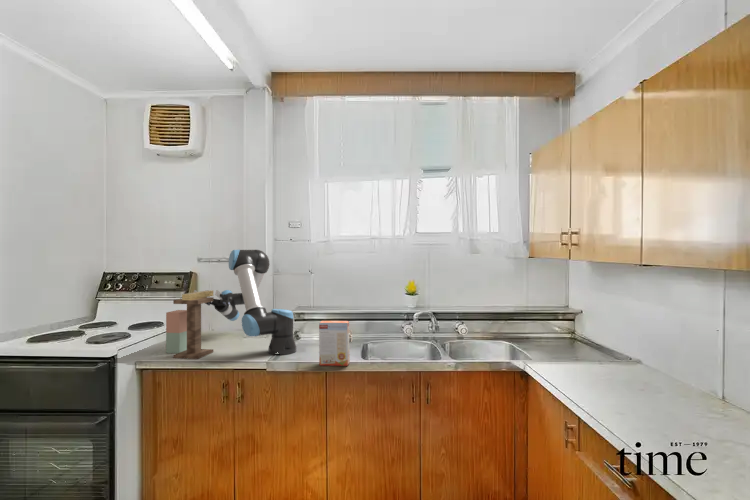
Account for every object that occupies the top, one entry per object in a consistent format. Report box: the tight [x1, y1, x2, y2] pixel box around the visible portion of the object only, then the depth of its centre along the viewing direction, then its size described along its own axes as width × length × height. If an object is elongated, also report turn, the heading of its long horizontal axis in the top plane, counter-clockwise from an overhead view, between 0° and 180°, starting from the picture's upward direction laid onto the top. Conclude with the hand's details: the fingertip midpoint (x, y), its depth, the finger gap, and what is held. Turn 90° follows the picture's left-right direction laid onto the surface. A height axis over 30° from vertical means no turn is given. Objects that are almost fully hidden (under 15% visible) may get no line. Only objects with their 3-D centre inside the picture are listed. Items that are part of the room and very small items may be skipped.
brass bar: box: [181, 289, 214, 300], centre depth 213 cm, size 4×22×3 cm, turn 171°
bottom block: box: [165, 331, 187, 354], centre depth 218 cm, size 8×10×11 cm
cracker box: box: [318, 320, 351, 367], centre depth 191 cm, size 14×6×21 cm, turn 84°
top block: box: [165, 309, 187, 334], centre depth 219 cm, size 8×10×11 cm
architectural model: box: [349, 329, 353, 343], centre depth 240 cm, size 3×7×7 cm, turn 70°
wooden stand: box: [172, 296, 215, 360], centre depth 209 cm, size 14×14×30 cm
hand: (205, 292), depth 220 cm, fingers open, 13 cm apart
